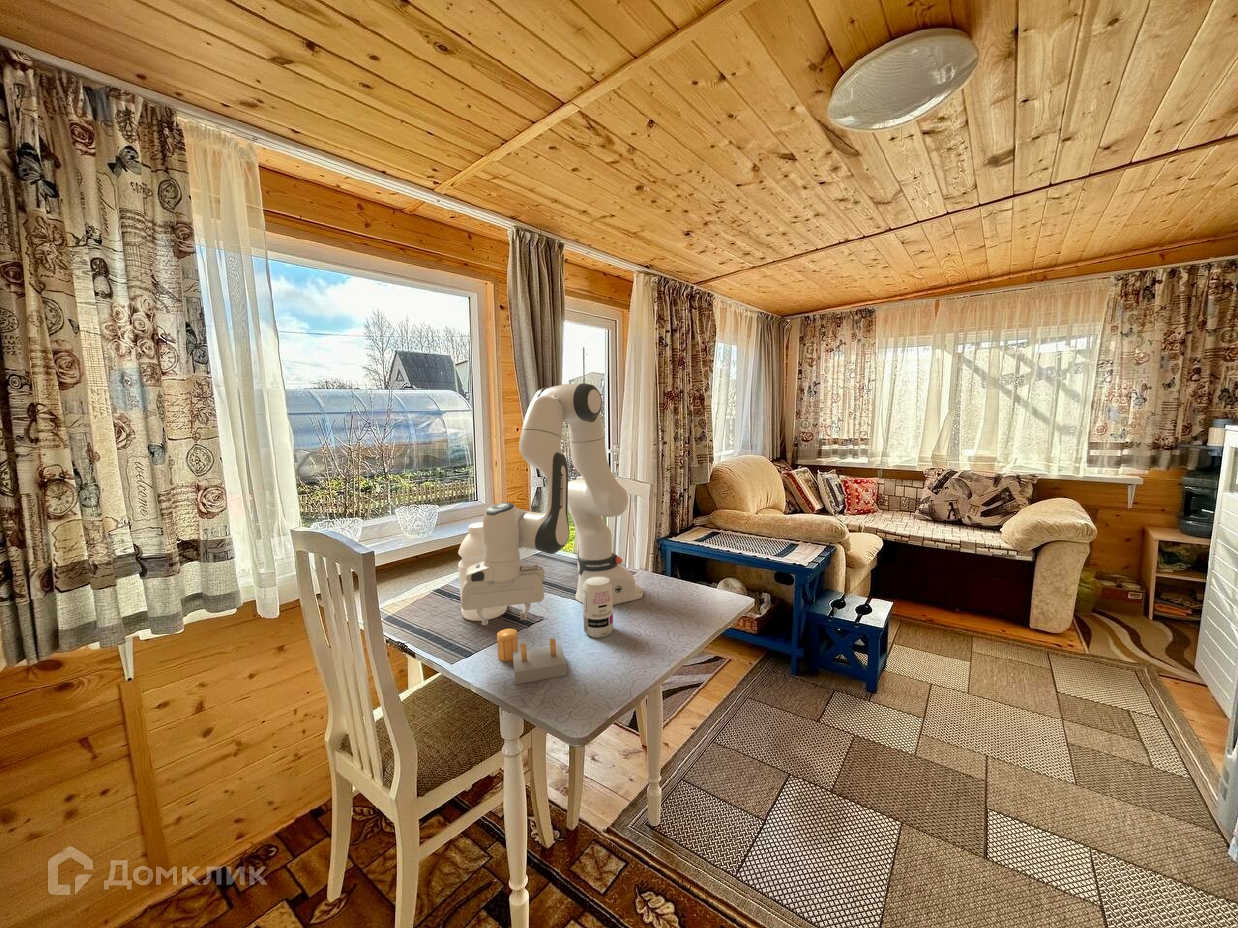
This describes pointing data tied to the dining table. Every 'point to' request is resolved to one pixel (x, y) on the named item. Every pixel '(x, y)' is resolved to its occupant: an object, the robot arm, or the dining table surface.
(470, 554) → the bottle
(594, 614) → the supplement can
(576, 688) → the dining table surface
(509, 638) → the wire nut cap
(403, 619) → the dining table surface
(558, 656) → the pegged grey base
